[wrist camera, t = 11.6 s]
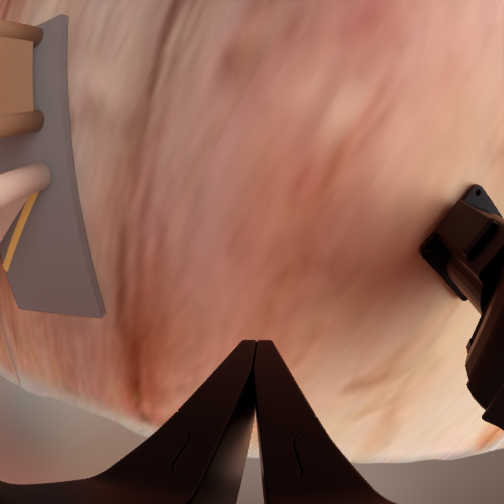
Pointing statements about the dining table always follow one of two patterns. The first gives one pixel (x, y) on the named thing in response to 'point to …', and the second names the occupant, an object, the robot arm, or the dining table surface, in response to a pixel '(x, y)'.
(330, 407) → the dining table surface
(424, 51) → the dining table surface
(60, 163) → the board
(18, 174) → the fence gate
